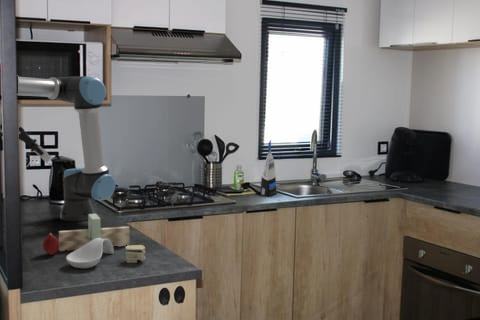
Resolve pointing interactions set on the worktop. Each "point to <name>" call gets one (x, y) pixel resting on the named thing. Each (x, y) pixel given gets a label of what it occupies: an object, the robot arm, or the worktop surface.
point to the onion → (51, 244)
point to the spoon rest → (90, 253)
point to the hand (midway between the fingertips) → (47, 158)
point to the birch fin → (81, 238)
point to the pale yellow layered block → (135, 253)
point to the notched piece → (94, 226)
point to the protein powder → (268, 176)
